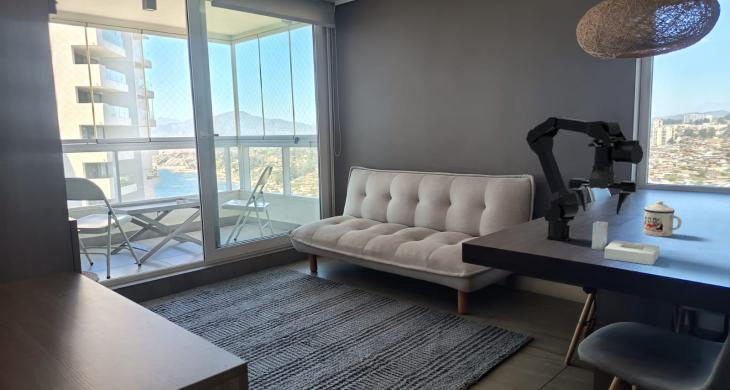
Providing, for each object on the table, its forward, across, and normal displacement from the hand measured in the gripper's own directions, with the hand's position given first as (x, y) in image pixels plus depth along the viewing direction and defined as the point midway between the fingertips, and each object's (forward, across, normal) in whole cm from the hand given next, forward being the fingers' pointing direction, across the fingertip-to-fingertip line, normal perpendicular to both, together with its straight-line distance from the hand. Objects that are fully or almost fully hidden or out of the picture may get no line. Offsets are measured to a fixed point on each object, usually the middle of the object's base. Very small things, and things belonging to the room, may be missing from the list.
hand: (600, 212), depth 146 cm
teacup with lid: (+11, +13, +32) cm, 36 cm away
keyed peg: (+11, 0, 0) cm, 11 cm away
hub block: (+11, +10, -6) cm, 16 cm away
